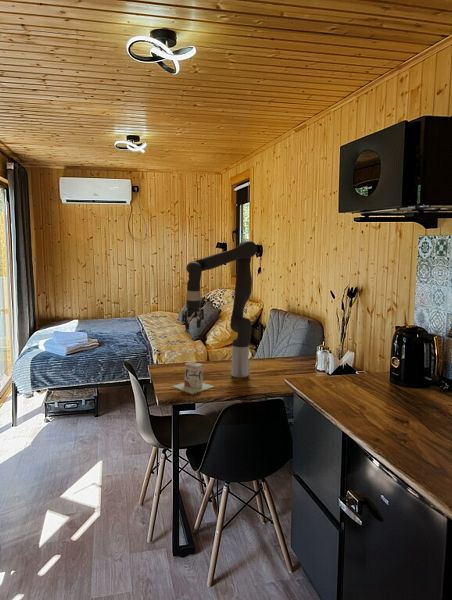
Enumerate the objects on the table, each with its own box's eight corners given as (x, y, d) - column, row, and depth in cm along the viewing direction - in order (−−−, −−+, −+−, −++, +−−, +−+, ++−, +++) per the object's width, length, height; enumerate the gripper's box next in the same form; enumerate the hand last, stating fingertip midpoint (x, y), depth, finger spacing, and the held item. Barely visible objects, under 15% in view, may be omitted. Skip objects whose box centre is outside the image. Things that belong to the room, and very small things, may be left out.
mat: (194, 380, 250) (194, 379, 250) (214, 387, 240) (214, 386, 240) (171, 387, 238) (171, 386, 238) (192, 394, 228) (192, 393, 228)
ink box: (183, 385, 239) (184, 363, 238) (189, 383, 243) (190, 361, 242) (197, 389, 235) (197, 366, 233) (203, 386, 239) (203, 364, 237)
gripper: (188, 301, 243) (188, 331, 245) (207, 298, 254) (207, 328, 256) (178, 299, 248) (178, 329, 250) (197, 297, 259) (197, 326, 261)
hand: (192, 328), depth 253 cm, fingers open, 8 cm apart
